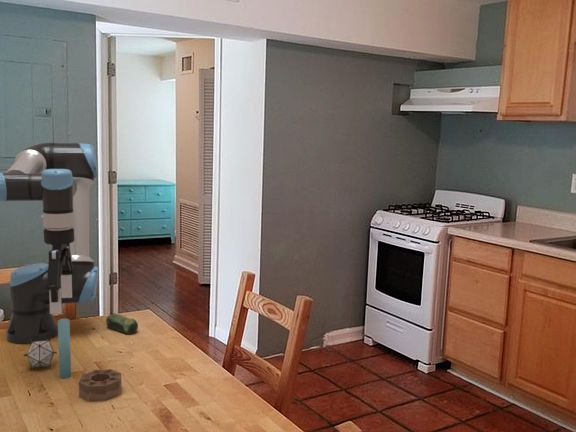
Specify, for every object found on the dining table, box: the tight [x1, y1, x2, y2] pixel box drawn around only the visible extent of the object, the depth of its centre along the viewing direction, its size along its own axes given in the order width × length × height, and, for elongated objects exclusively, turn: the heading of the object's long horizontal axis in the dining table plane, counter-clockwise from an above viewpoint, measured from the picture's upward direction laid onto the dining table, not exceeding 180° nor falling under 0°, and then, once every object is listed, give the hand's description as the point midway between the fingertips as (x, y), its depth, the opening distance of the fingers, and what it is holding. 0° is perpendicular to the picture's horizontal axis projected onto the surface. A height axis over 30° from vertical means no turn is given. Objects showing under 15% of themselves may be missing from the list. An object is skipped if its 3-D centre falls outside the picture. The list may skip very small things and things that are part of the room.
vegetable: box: [105, 313, 139, 335], centre depth 194 cm, size 14×5×5 cm, turn 55°
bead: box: [78, 368, 122, 402], centre depth 148 cm, size 10×10×4 cm
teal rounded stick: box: [57, 318, 72, 379], centre depth 156 cm, size 3×3×16 cm
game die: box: [23, 338, 58, 371], centre depth 162 cm, size 9×8×10 cm
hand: (61, 305), depth 153 cm, fingers open, 13 cm apart
